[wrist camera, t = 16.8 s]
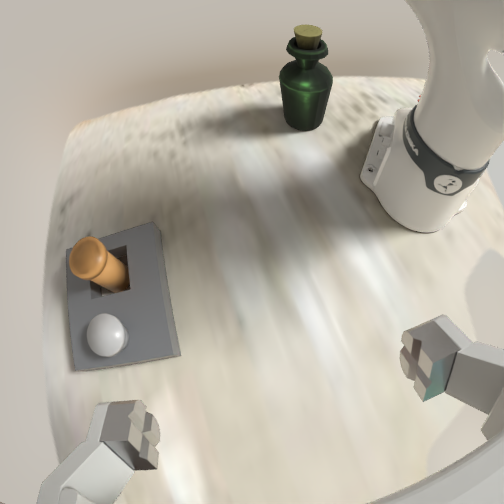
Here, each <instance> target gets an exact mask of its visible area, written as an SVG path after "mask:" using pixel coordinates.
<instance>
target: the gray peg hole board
mask: <svg viewBox="0 0 504 504" xmlns="http://www.w3.org/2000/svg"><path fill="white" fill-rule="evenodd" d="M98 240H99V241H100V242H102V243H103V244H104V245H105V247H106V249H107V251H108V252H109V253H111V254H112V255H113V256H114V257H116V258H118V257H122V256H125V255H127V259H128V269H129V279H130V287H131V289H130V290H126V291H122V292H118V293H114V294H110V295H107V296H103V297H101V288H100V285H98V284H97V283H95V282H93V281H91V280H83V279H81V278H79V277H77V276H76V275H74V274H73V273H72V271H71V269H70V266H69V257H70V253H71V251H72V249H73V248H70V249H67V250H66V272H67V298H68V313H69V325H70V335H71V344H72V352H73V359H74V366H75V370H77V371H91V370H99V369H106V368H113V367H119V366H126V365H132V364H138V363H144V362H150V361H156V360H161V359H167V358H172V357H177V356H181V352H180V348H179V343H178V338H177V333H176V328H175V322H174V317H173V312H172V306H171V300H170V294H169V288H168V282H167V276H166V269H165V263H164V256H163V249H162V241H161V234H160V230H159V229H158V227H157V226H156V225H155V224H154V223H153V222H150V223H147V224H144V225H140V226H137V227H134V228H131V229H128V230H124V231H121V232H118V233H115V234H112V235H109V236H106V237H103V238H100V239H98Z"/></svg>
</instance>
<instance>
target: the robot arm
mask: <svg viewBox="0 0 504 504" xmlns="http://www.w3.org/2000/svg"><path fill="white" fill-rule="evenodd" d="M405 1H406V3H407V4H408V5H409V6H410V8H411V9H412V10H413V12H414V13H415V15H416V17H417V18H418V20H419V22H420V24H421V26H422V29H423V31H424V34H425V37H426V40H427V44H428V49H429V69H428V74H427V78H426V82H425V85H424V88H423V92H422V94H421V96H419V97H420V100H418V104H417V105H416V106H415V107H414V108H400V109H398V110H397V111H396V112H395V115H394V116H388V117H382V118H380V119H379V121H378V124H377V127H376V130H375V133H374V136H373V139H372V142H371V145H370V148H369V151H368V154H367V157H366V160H365V163H364V166H363V168H362V171H361V174H360V178H361V180H362V182H363V183H364V184H365V185H366V186H367V187H369V188H370V189H371V190H372V191H373V192H374V193H375V194H376V196H377V198H378V199H379V201H380V203H381V205H382V206H383V208H384V209H385V210H386V212H387V213H388V214H389V215H390V216H391V217H392V218H393V219H394V220H396V221H397V222H398V223H400V224H401V225H403V226H405V227H407V228H409V229H411V230H414V231H418V232H435V231H438V230H440V229H442V228H444V227H445V226H446V225H447V224H448V223H449V221H450V220H451V219H452V217H453V216H454V215H455V214H458V213H460V212H462V211H463V210H464V209H465V208H466V206H467V201H466V200H467V198H468V197H469V195H470V194H471V193H472V191H473V190H474V188H475V187H476V185H477V184H478V182H479V178H480V177H481V176H482V174H483V173H484V172H485V169H486V168H487V166H488V164H489V160H490V158H491V156H492V155H493V154H494V153H495V151H496V150H497V149H498V147H499V146H500V145H501V143H502V142H503V141H504V84H503V82H502V80H501V79H500V78H499V76H498V75H497V73H496V72H495V71H494V69H493V68H492V66H491V64H490V62H489V60H488V58H487V54H488V53H489V51H491V50H493V51H496V52H498V53H501V54H503V55H504V0H405ZM369 170H371V171H372V172H370V171H369ZM401 342H402V343H403V344H404V347H403V348H402V350H401V351H400V363H401V367H402V370H403V372H404V374H405V375H406V377H407V378H408V379H411V380H414V381H415V382H414V389H415V391H416V392H417V394H418V395H419V397H420V398H421V400H422V401H423V402H424V401H426V400H428V399H430V398H433V397H435V396H437V395H439V394H441V393H443V392H445V393H447V394H448V395H450V396H452V397H454V398H456V399H458V400H460V401H462V402H464V403H466V404H468V405H470V406H472V407H474V408H476V409H478V410H480V411H482V412H484V413H486V414H488V417H487V419H486V420H485V422H484V424H483V425H482V428H481V431H482V433H483V434H484V436H485V437H486V439H487V440H488V441H487V442H485V443H484V444H482V445H481V446H479V447H478V448H476V449H475V450H473V451H472V452H470V453H469V454H467V455H465V456H464V457H462V458H461V459H459V460H457V461H456V462H454V463H452V464H450V465H449V466H447V467H445V468H443V469H442V470H440V471H438V472H436V473H434V474H433V475H430V476H429V477H427V478H425V479H423V480H421V481H419V482H417V483H414V484H412V485H410V486H408V487H406V488H404V489H402V490H399V491H397V492H395V493H392V494H390V495H388V496H385V497H383V498H380V499H378V500H375V501H372V502H370V503H367V504H504V349H501V348H498V347H494V346H491V345H487V344H484V343H481V342H478V341H476V342H474V343H473V342H472V341H471V340H470V339H469V338H468V337H467V336H466V335H465V334H464V333H463V332H462V331H461V330H460V329H459V328H458V327H457V326H456V325H455V324H454V323H453V322H452V321H451V320H450V319H449V318H448V317H447V316H446V315H440V316H438V317H436V318H434V319H432V320H430V321H427V322H425V323H422V324H420V325H418V326H415V327H413V328H411V329H408V330H406V331H404V332H403V334H402V339H401ZM159 441H160V429H159V425H158V422H157V420H156V419H155V417H154V416H153V415H152V414H150V413H148V412H146V405H145V404H144V403H143V402H142V400H130V401H117V402H104V403H98V404H97V405H96V407H95V410H94V414H93V417H92V421H91V424H90V427H89V431H88V435H87V438H86V442H81V443H80V444H79V445H78V446H77V447H76V449H75V450H74V451H73V452H72V453H71V454H70V455H69V456H68V457H67V458H66V459H65V460H64V461H63V462H62V463H61V464H60V465H59V466H58V467H57V468H56V469H55V470H54V471H53V472H52V473H51V474H50V475H49V476H48V477H47V478H46V479H45V480H44V481H43V482H42V484H41V488H40V492H39V496H38V500H37V504H113V503H114V502H115V500H116V499H117V497H118V496H119V494H120V493H121V491H122V490H123V488H124V487H125V485H126V484H127V482H128V481H129V479H130V478H131V476H132V475H133V473H134V470H153V469H157V467H158V456H159V452H158V451H157V449H156V448H155V446H156V445H157V444H158V443H159ZM0 504H4V503H2V502H0Z"/></svg>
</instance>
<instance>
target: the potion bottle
mask: <svg viewBox="0 0 504 504" xmlns="http://www.w3.org/2000/svg"><path fill="white" fill-rule="evenodd" d="M294 33H295V37H293V38H292V39H291V40H290V41H289V43H288V45H287V49H286V50H287V52H288V53H289V54H290V55H292V56H293V57H295V59H296V60H294V61H291V62H289V63H287V64H286V65H285V66H284V67H283V68H282V70H281V71H280V75H279V80H280V87H281V94H282V101H283V109H284V116H285V119H286V122H287V123H288V124H289V125H290V126H291V127H293V128H296V129H298V130H305V131H307V130H313V129H315V128H317V127H319V126H320V124H321V123H322V121H323V117H324V114H325V110H326V106H327V102H328V98H329V95H330V91H331V87H332V83H333V77H332V75H331V73H330V72H329V70H328V68H327V67H326V66H324V65H323V64H321V63H319V62H318V60H319V59H322V58H325V57H326V56H327V55H328V48H327V45H326V43H325V42H324V41H323V40H321V39H320V38H321V35H322V30H321V29H320V28H318V27H316V26H313V25H299V26H296V27H295V28H294Z"/></svg>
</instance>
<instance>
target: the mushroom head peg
mask: <svg viewBox="0 0 504 504" xmlns="http://www.w3.org/2000/svg"><path fill="white" fill-rule="evenodd" d="M69 266H70V269H71V271H72V273H73V274H74V275H76V276H77V277H79V278H81V279H83V280H91V281H93V282H95V283H97V284H98V285H100V286H102V287H104V288H106V289H108V290H110V291H112V292H114V293H118V292H122V291H124V290H125V289H126V288H127V287H128V286H129V284H130V279H129V269H128V267H127V266H126V265H125V264H124V263H122V262H121V261H120V260H118V259H117V258H116V257H114V256H113V255H112V254H111V253H109V252H108V251H107V249H106V247H105V245H104V244H103V243H102V242H100V241H99V240H98V239H97V238H95V237H85V238H83V239H81V240H80V241H78V242H77V243H76V244H75V246H74V247H73V249H72V251H71V253H70V257H69Z"/></svg>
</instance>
